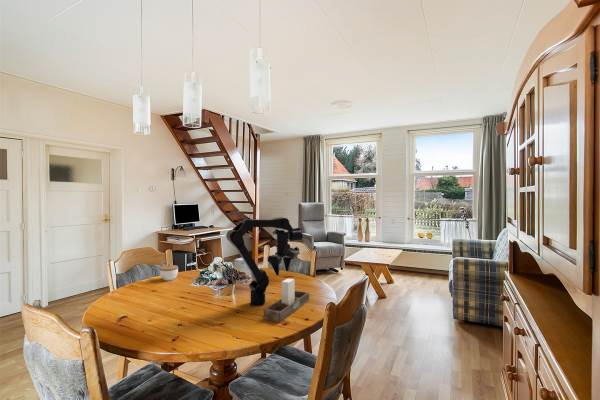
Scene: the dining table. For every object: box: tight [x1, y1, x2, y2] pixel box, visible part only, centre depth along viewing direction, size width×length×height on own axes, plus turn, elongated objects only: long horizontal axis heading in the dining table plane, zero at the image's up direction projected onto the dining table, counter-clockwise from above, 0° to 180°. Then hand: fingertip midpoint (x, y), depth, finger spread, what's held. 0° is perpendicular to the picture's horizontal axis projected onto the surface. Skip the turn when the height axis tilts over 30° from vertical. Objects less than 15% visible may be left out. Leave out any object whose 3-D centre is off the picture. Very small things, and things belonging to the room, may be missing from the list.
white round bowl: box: [159, 264, 179, 282], centre depth 189 cm, size 11×11×9 cm
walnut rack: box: [263, 290, 310, 323], centre depth 139 cm, size 8×29×4 cm, turn 154°
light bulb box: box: [234, 257, 251, 275], centre depth 201 cm, size 11×7×11 cm, turn 141°
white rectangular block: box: [281, 278, 296, 304], centre depth 139 cm, size 4×6×12 cm, turn 154°
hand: (282, 273), depth 153 cm, fingers open, 9 cm apart
